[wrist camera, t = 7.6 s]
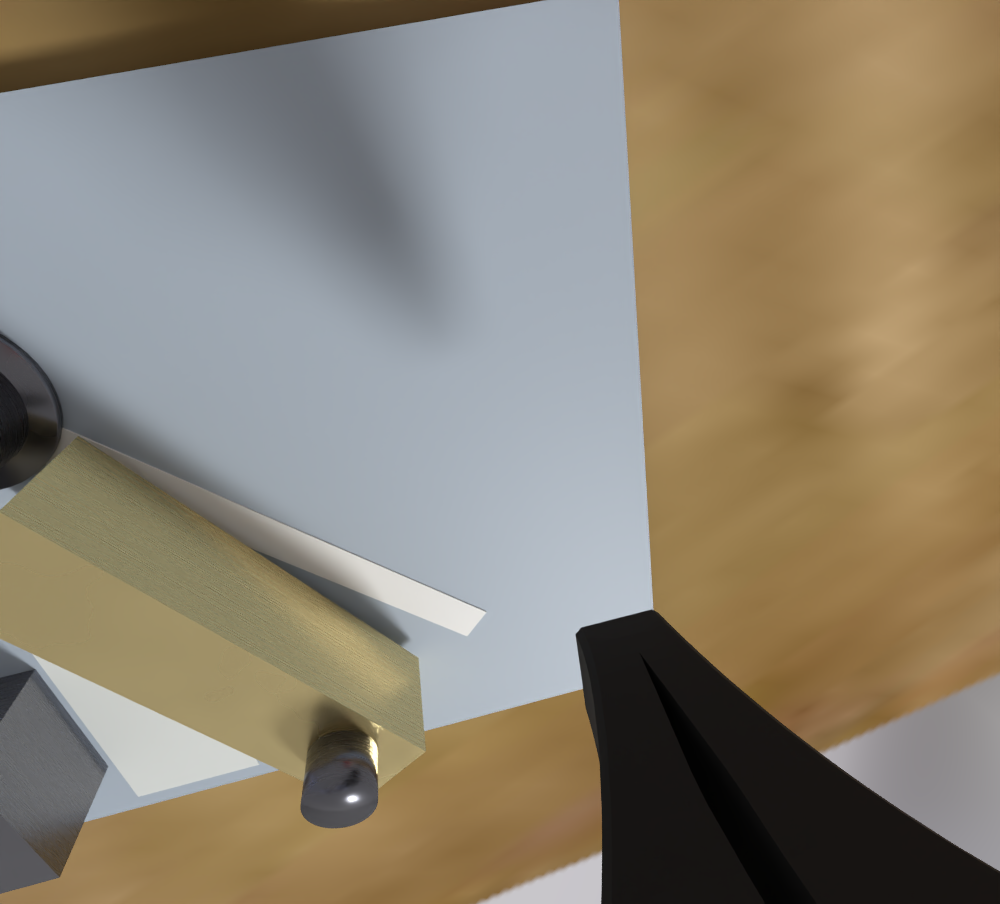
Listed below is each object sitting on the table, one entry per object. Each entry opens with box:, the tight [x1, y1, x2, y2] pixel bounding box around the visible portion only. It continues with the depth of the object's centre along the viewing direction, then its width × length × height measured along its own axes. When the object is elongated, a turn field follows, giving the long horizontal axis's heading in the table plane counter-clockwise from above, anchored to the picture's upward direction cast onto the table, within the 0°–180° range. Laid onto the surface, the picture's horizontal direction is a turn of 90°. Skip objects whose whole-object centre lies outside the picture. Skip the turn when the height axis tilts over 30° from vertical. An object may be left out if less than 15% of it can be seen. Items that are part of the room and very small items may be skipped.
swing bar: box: [0, 436, 426, 828], centre depth 13 cm, size 10×2×4 cm, turn 41°
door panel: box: [0, 0, 653, 822], centre depth 15 cm, size 19×18×1 cm
